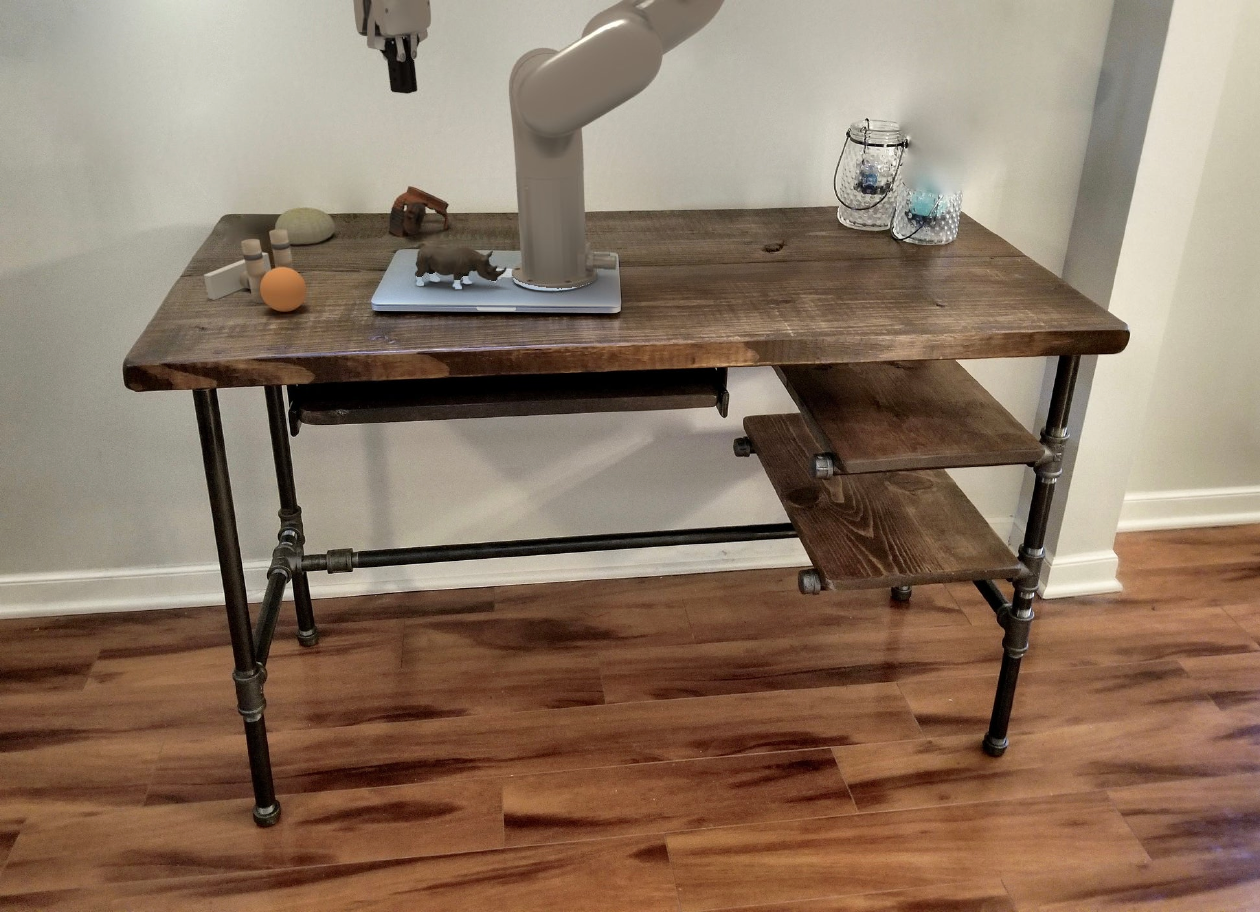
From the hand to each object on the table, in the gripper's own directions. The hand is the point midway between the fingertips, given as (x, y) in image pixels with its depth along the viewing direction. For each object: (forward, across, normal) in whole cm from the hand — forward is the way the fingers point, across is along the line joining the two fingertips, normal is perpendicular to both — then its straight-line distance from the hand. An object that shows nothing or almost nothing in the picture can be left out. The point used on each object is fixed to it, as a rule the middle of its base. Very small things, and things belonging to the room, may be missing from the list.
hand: (404, 91), depth 137 cm
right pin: (+27, +10, -17) cm, 34 cm away
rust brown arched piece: (+28, -20, -18) cm, 39 cm away
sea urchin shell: (+28, -9, -32) cm, 43 cm away
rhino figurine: (+28, -3, +4) cm, 28 cm away
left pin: (+27, +15, -17) cm, 35 cm away
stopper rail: (+27, +12, -24) cm, 38 cm away
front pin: (+26, +12, -14) cm, 32 cm away
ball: (+24, +16, -12) cm, 31 cm away
